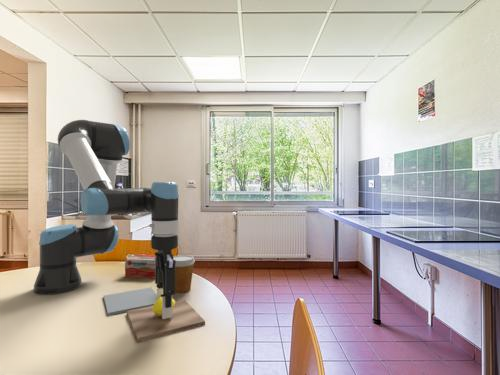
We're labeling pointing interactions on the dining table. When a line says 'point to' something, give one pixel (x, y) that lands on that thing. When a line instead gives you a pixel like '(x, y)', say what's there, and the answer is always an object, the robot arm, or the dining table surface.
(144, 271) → the medicine box
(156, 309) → the lemon
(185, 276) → the disposable coffee cup
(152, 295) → the slate grey mat
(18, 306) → the dining table surface
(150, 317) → the walnut board
